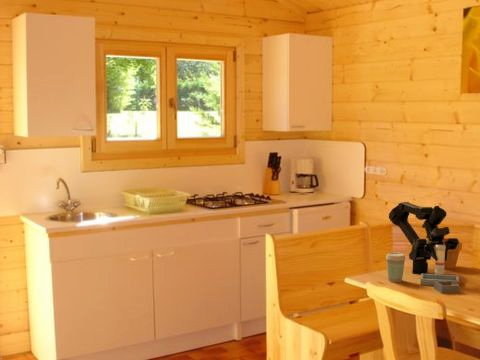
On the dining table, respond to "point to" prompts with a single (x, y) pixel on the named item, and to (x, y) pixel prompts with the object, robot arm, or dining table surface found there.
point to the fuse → (440, 259)
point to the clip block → (446, 287)
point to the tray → (437, 279)
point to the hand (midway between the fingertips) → (441, 260)
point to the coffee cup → (395, 266)
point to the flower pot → (451, 255)
